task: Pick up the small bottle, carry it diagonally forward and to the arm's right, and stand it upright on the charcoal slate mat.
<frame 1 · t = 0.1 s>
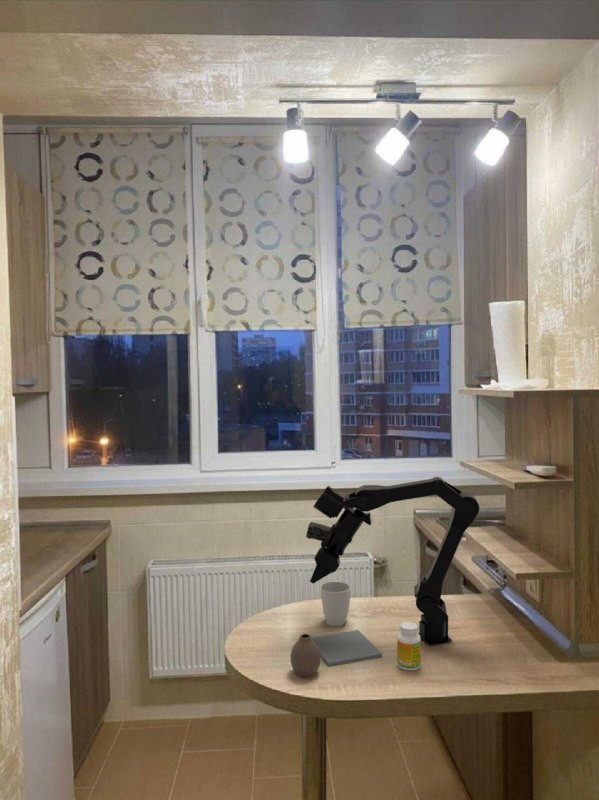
hand: (314, 576, 162), 15 cm above the breakfast bar, tool tilted 35°, fingers open, 9 cm apart
vase: (305, 673, 141), on the breakfast bar
slate mat: (343, 648, 153), on the breakfast bar
cup: (335, 623, 168), on the breakfast bar
supplement bottle: (408, 666, 144), on the breakfast bar
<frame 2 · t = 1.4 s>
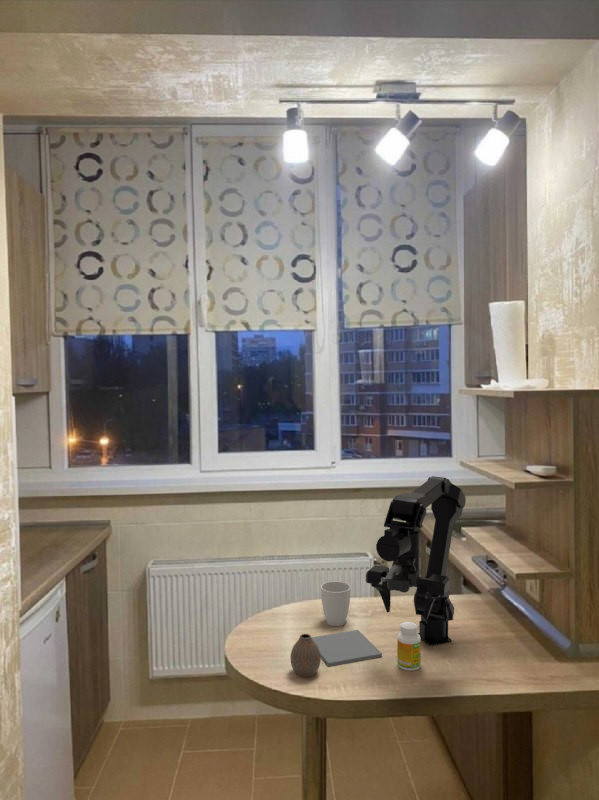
hand: (407, 615, 143), 12 cm above the breakfast bar, tool pointing down, fingers open, 9 cm apart
nothing on the breakfast bar moved.
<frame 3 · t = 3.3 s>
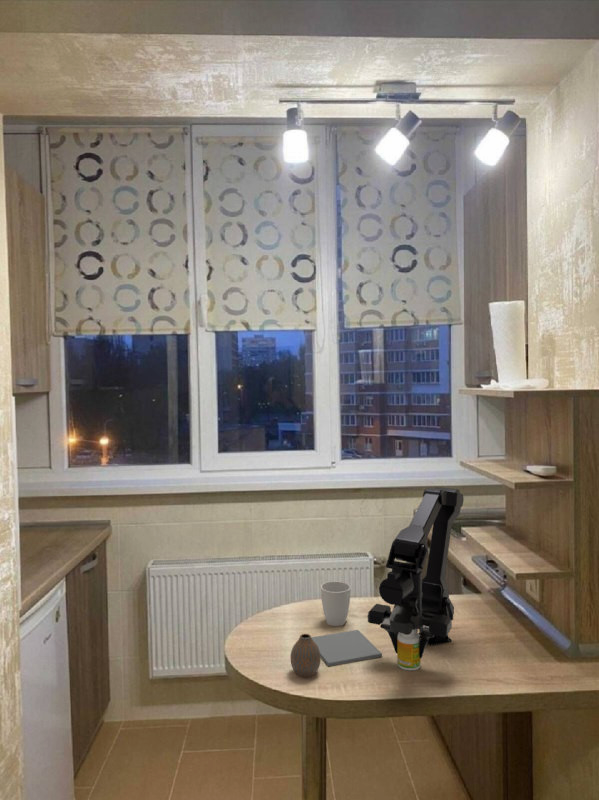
hand: (409, 655, 144), 3 cm above the breakfast bar, tool pointing down, fingers closed on supplement bottle, 5 cm apart
supplement bottle: (408, 666, 144), on the breakfast bar, touching gripper
everything else where it was.
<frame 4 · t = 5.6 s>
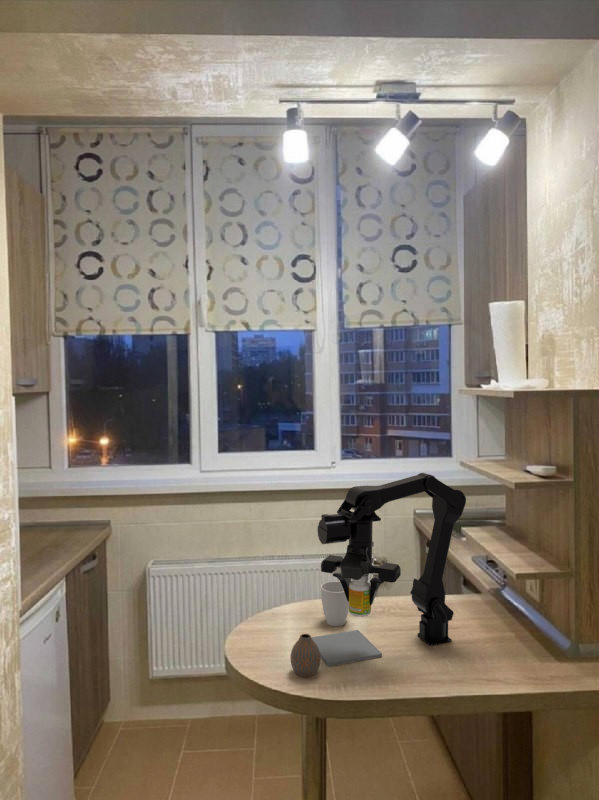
hand: (360, 602, 149), 13 cm above the breakfast bar, tool pointing down, fingers closed on supplement bottle, 5 cm apart
supplement bottle: (359, 613, 149), point 10 cm above the breakfast bar, touching gripper
everything else where it was.
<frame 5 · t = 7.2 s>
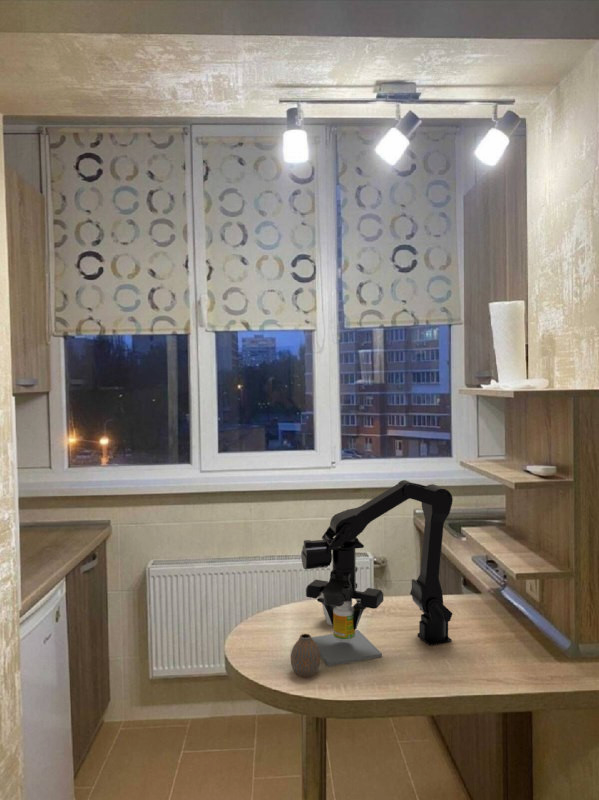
hand: (344, 627, 152), 5 cm above the breakfast bar, tool pointing down, fingers closed on supplement bottle, 5 cm apart
supplement bottle: (344, 637, 152), point 3 cm above the breakfast bar, touching gripper
everything else where it was.
when the fingers open (5 cm above the breakfast bar, at t = 8.2 s): supplement bottle drops 1 cm, resting on slate mat.
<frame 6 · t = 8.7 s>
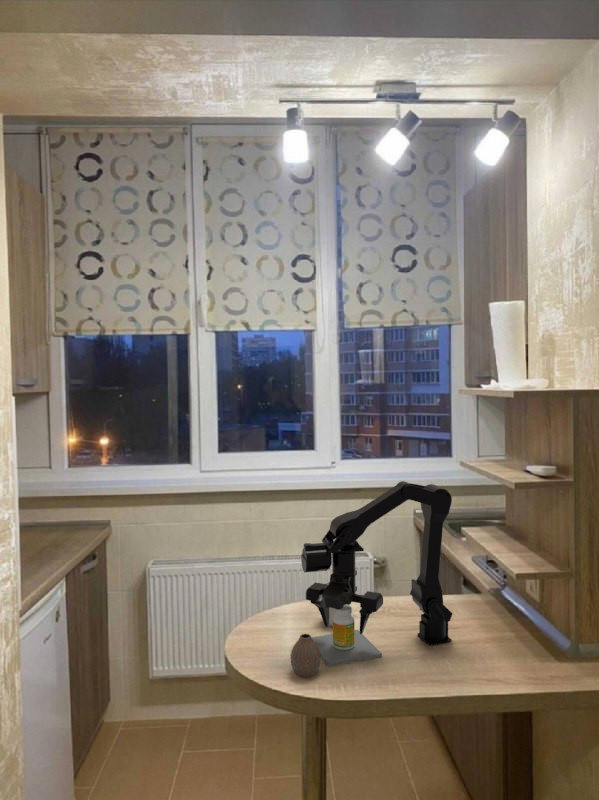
hand: (344, 630, 152), 5 cm above the breakfast bar, tool pointing down, fingers open, 9 cm apart
supplement bottle: (343, 646, 153), point 1 cm above the breakfast bar, touching slate mat
everything else where it was.
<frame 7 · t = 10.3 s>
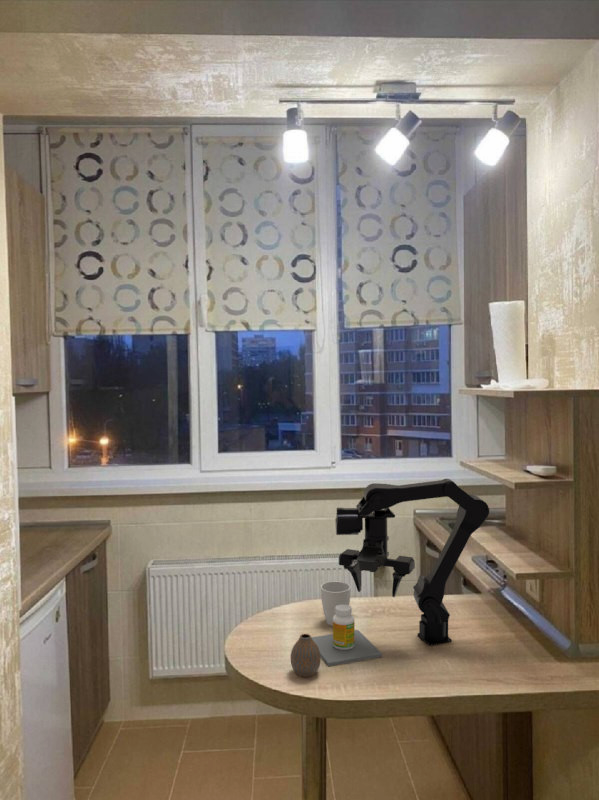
hand: (376, 594, 157), 12 cm above the breakfast bar, tool pointing down, fingers open, 9 cm apart
nothing on the breakfast bar moved.
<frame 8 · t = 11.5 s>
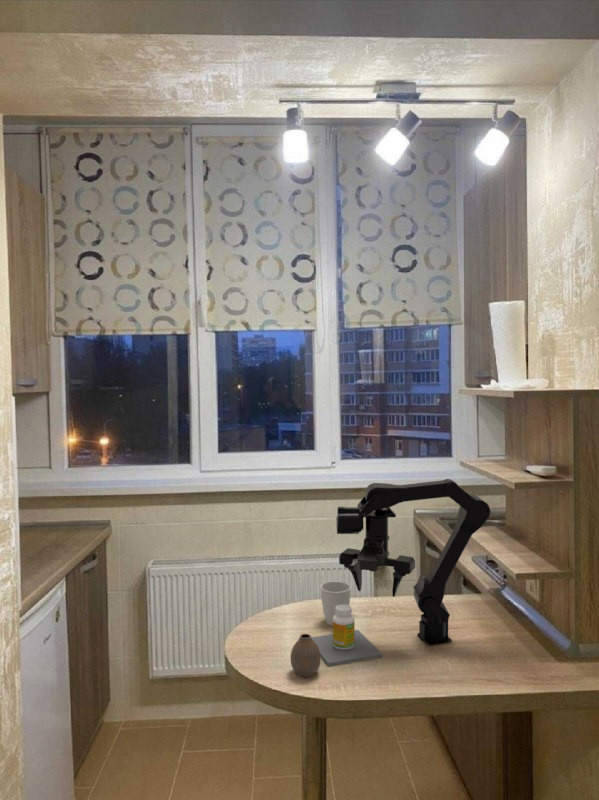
hand: (376, 593, 157), 12 cm above the breakfast bar, tool pointing down, fingers open, 9 cm apart
nothing on the breakfast bar moved.
at the end: supplement bottle inside the target area on the slate mat (0.1 cm from its centre), point 0.6 cm above the slate mat's base; supplement bottle tilted 0°; the gripper is holding nothing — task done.
